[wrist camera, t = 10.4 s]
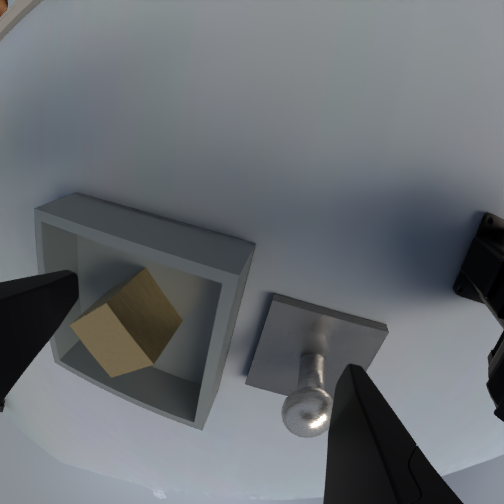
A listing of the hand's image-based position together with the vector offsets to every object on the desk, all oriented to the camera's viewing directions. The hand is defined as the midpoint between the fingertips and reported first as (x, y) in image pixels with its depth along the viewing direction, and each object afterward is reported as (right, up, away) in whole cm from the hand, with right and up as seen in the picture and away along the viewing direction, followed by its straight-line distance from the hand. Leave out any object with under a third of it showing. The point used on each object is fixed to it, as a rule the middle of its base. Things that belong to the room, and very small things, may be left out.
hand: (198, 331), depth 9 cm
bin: (-7, -2, +16) cm, 18 cm away
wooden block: (-7, -2, +16) cm, 18 cm away
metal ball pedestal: (+6, -6, +15) cm, 18 cm away
